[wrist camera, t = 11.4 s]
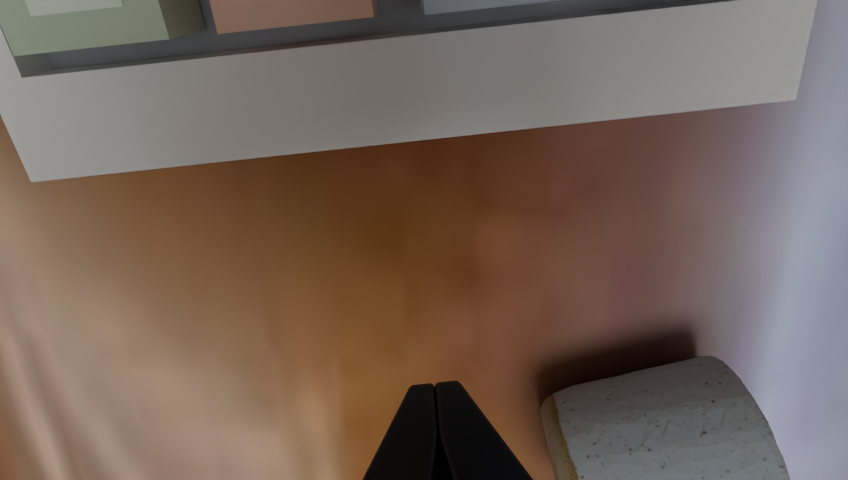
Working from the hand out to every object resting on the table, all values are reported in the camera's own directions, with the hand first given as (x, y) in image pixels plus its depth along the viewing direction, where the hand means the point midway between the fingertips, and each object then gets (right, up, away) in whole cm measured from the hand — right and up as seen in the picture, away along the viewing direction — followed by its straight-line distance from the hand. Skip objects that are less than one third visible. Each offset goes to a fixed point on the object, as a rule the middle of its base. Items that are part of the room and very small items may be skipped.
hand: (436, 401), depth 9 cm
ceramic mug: (+10, -6, +18) cm, 21 cm away
